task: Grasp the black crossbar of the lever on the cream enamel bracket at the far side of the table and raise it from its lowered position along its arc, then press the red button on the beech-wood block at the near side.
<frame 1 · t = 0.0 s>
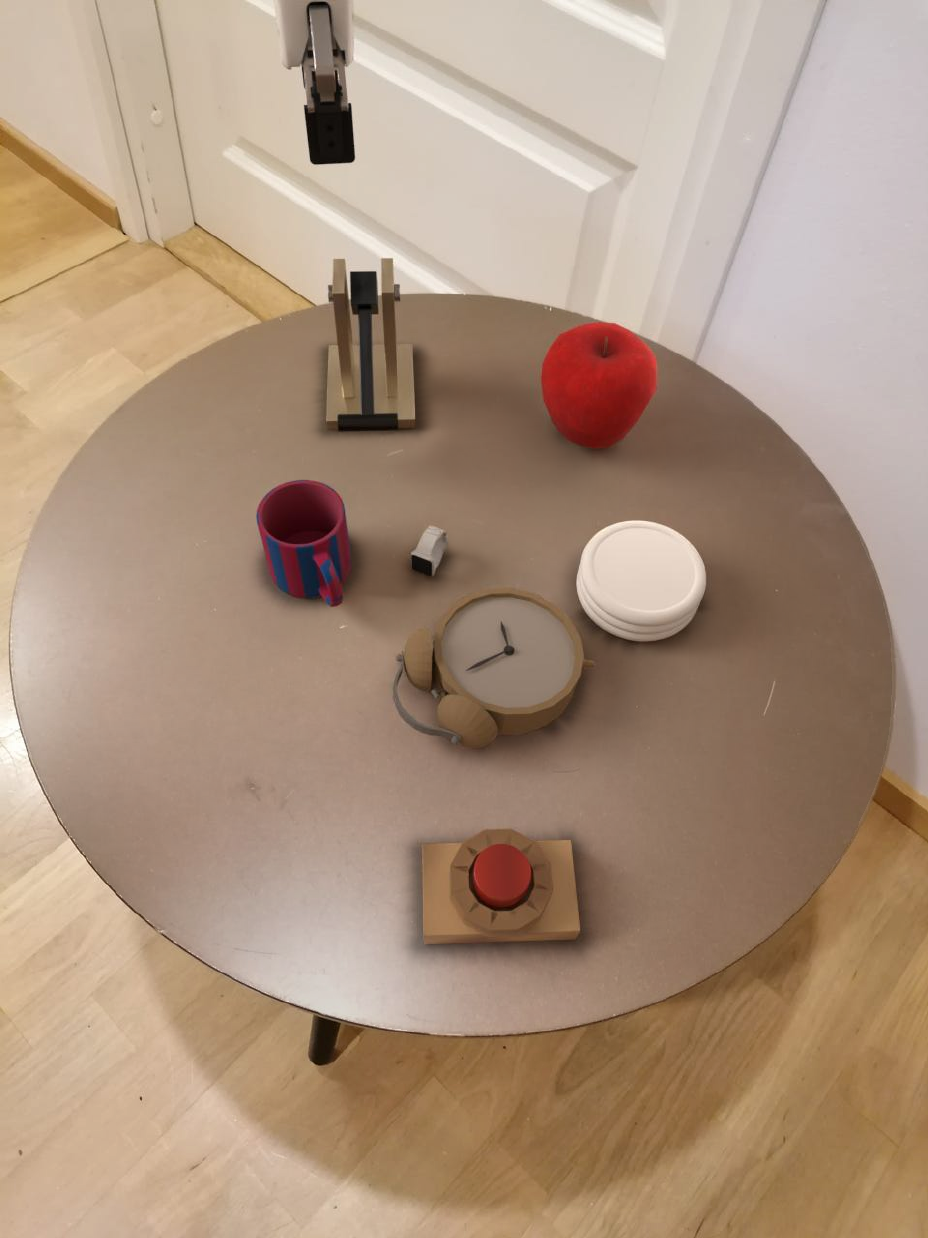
hand: (328, 123, 70), 24 cm above the table, tool pointing down, fingers open, 9 cm apart
button block: (497, 896, 63), on the table
button: (501, 875, 59), point 4 cm above the table, slide at 0.1 cm
alarm clock: (485, 683, 72), on the table
apple: (587, 432, 86), on the table
coaster: (635, 593, 77), on the table
bracket: (371, 390, 88), on the table
smartwatch: (430, 567, 77), on the table
mug: (316, 582, 76), on the table
lever: (366, 353, 79), point 8 cm above the table, hinge at -30.0°
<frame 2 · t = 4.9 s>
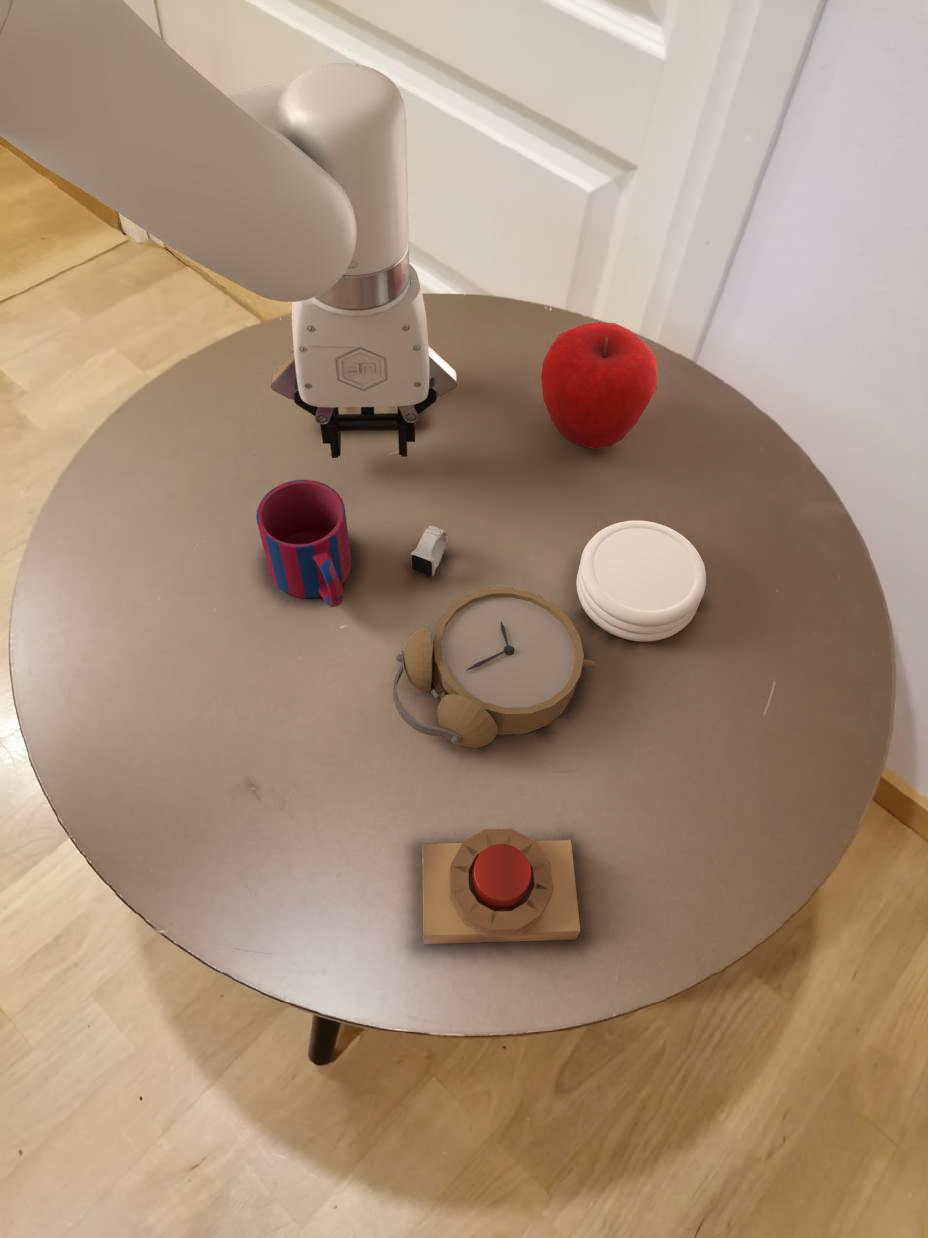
hand: (369, 443, 80), 3 cm above the table, tool pointing down, fingers closed on lever, 5 cm apart
lever: (366, 353, 79), point 8 cm above the table, hinge at -30.0°, touching gripper
everything else where it was.
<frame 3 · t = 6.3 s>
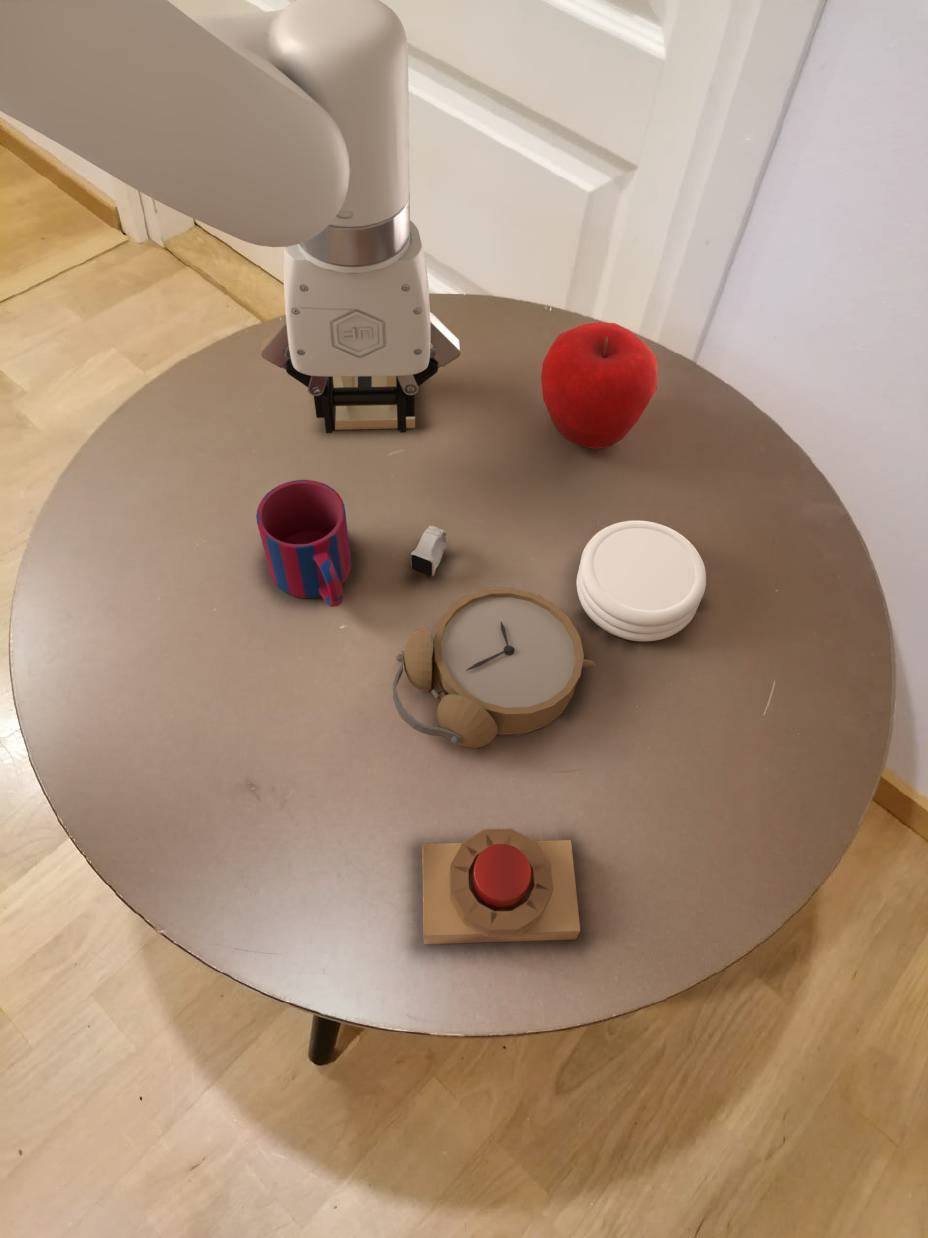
hand: (366, 418, 76), 8 cm above the table, tool pointing down, fingers closed on lever, 5 cm apart
lever: (364, 339, 76), point 10 cm above the table, hinge at -6.1°, touching gripper
everything else where it was.
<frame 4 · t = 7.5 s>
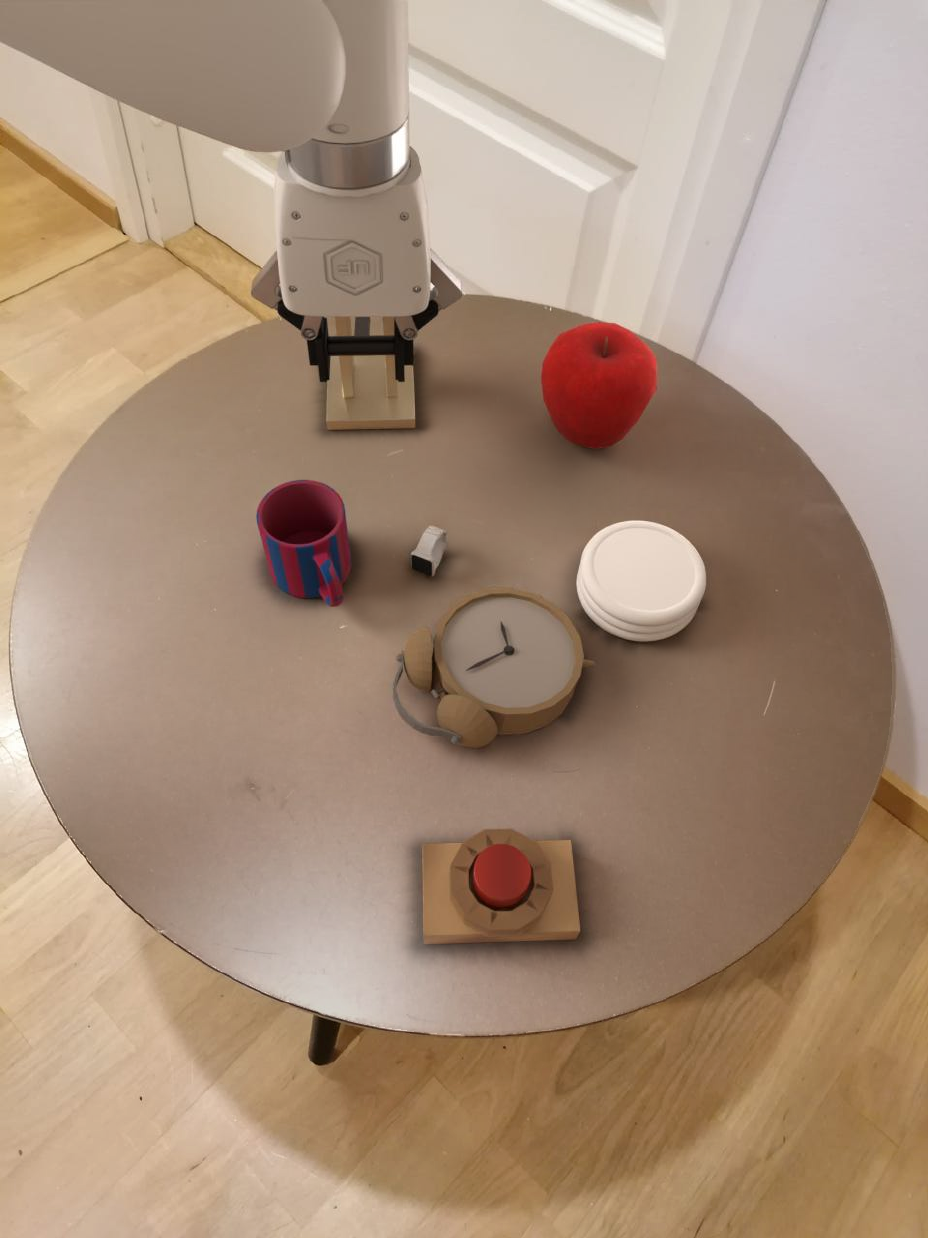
hand: (362, 367, 72), 12 cm above the table, tool pointing down, fingers closed on lever, 5 cm apart
lever: (363, 316, 75), point 13 cm above the table, hinge at 18.4°, touching gripper
everything else where it was.
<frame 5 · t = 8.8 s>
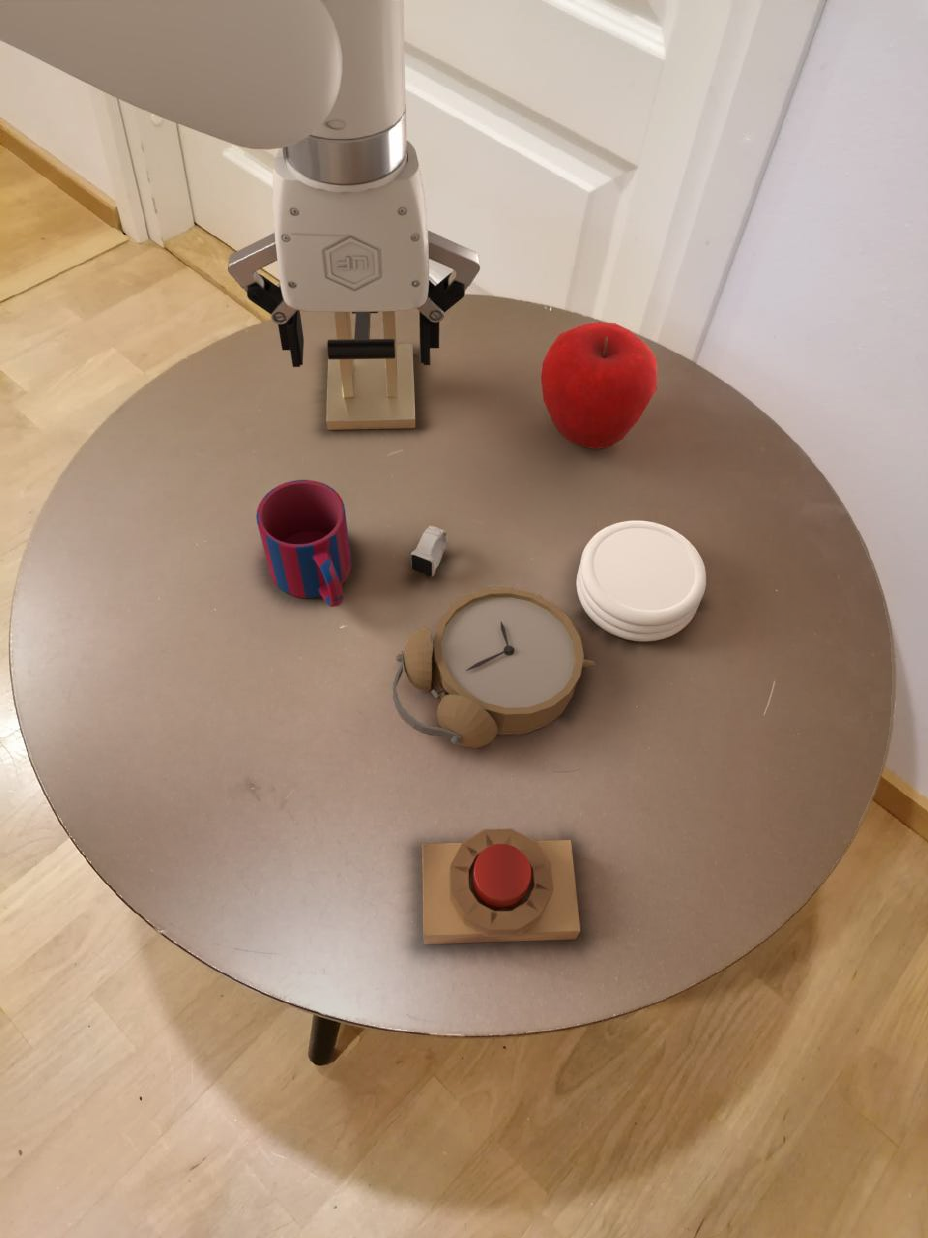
hand: (362, 353, 71), 13 cm above the table, tool pointing down, fingers open, 9 cm apart
lever: (363, 317, 75), point 13 cm above the table, hinge at 17.0°
everything else where it was.
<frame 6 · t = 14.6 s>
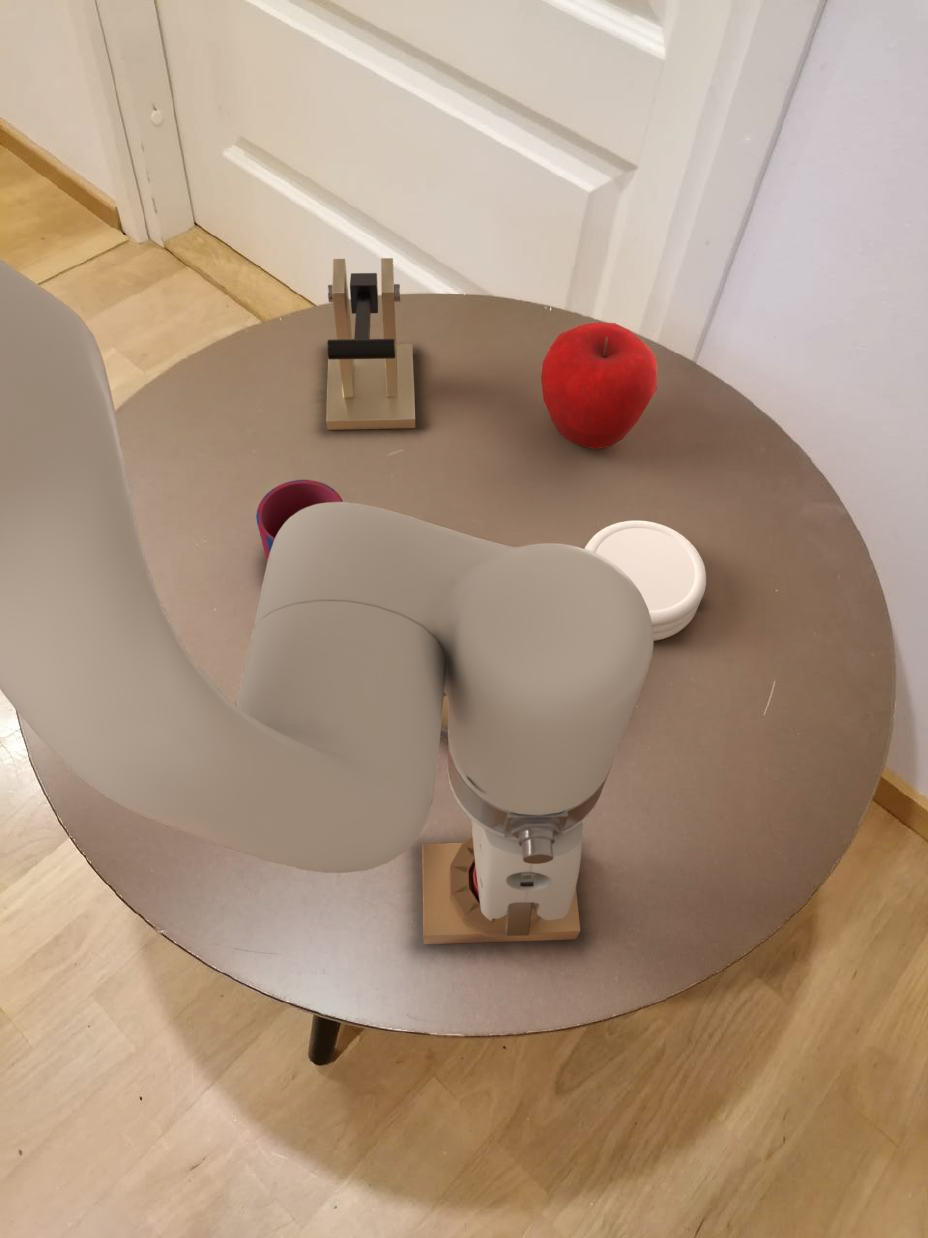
hand: (504, 875, 59), 5 cm above the table, tool pointing down, fingers closed
button: (500, 879, 60), point 4 cm above the table, slide at -0.7 cm, touching gripper
everything else where it was.
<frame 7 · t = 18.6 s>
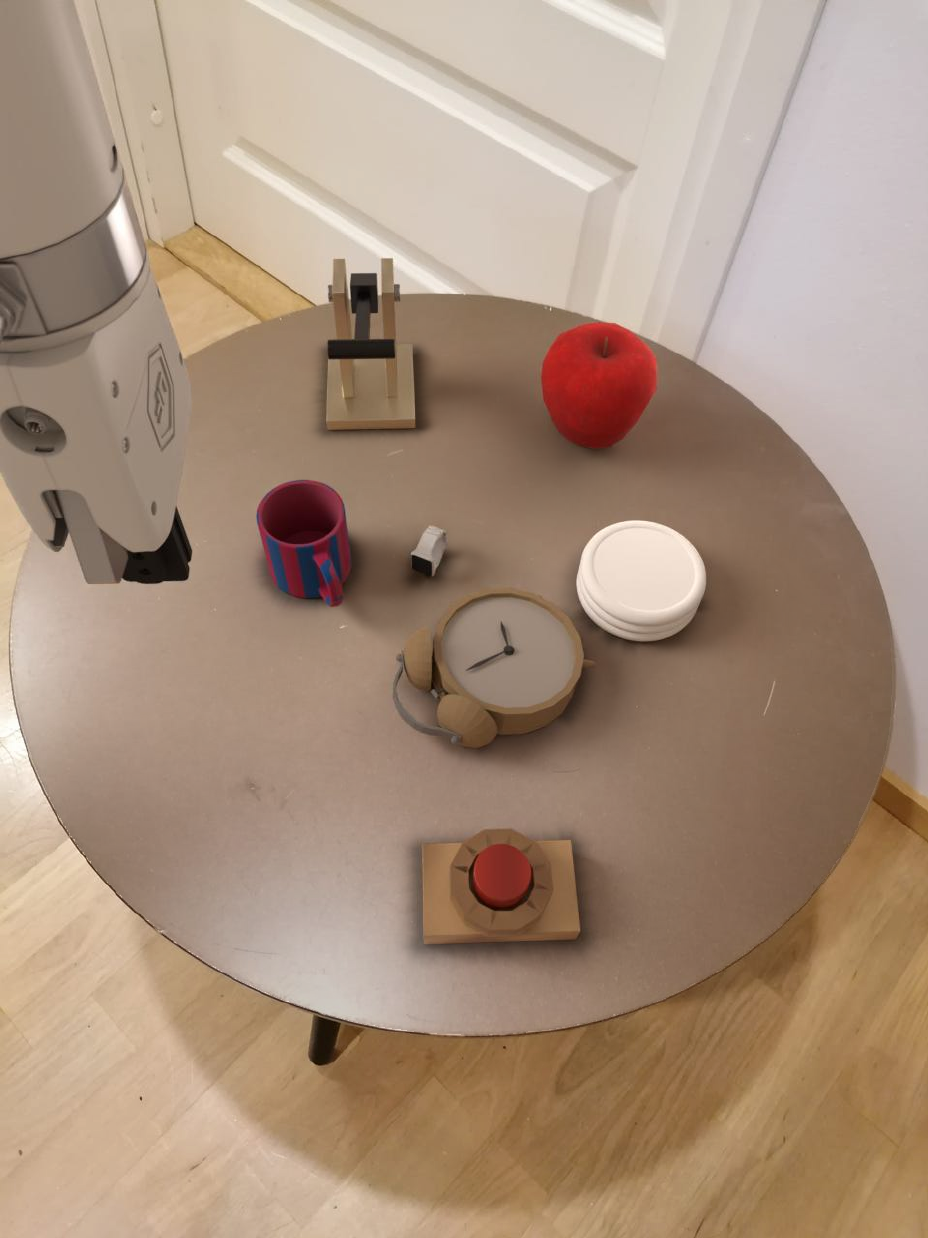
hand: (158, 567, 46), 25 cm above the table, tool pointing down, fingers closed
button: (501, 875, 59), point 4 cm above the table, slide at 0.1 cm
everything else where it was.
at the end: lever at +17° (first picture: -30°); button pushed in 1.1 cm at the most during the clip, back to where it started at the end; button slide at 0.1 cm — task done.
